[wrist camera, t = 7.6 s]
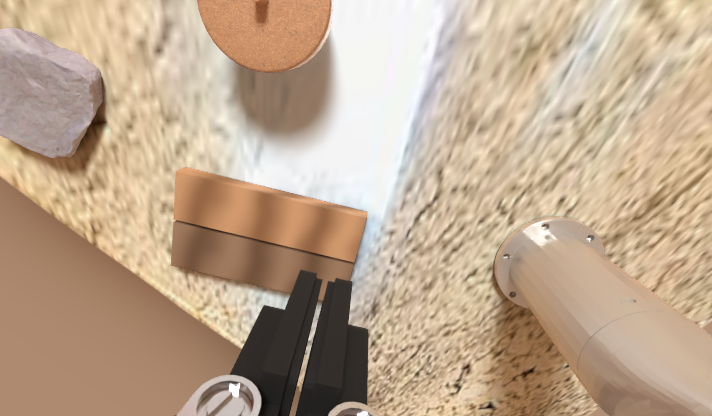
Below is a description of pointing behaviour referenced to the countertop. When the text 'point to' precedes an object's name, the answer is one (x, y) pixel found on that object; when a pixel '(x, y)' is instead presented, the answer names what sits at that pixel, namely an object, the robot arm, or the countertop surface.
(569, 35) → the countertop surface
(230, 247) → the walnut board
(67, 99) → the stone block
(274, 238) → the chestnut plank
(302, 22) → the lidded jar
